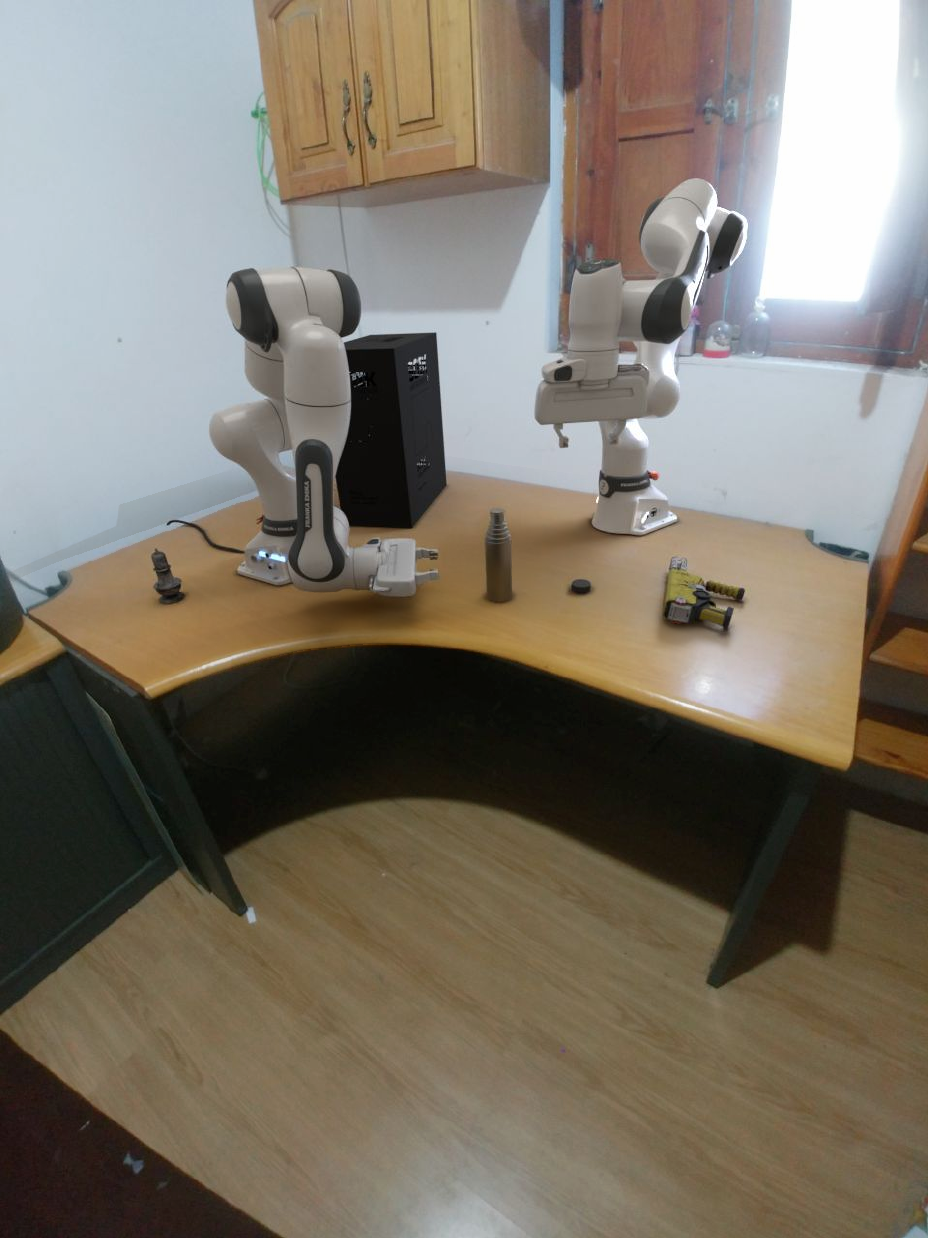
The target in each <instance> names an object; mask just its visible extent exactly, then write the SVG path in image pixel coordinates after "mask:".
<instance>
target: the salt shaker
mask: <svg viewBox="0 0 928 1238" xmlns="http://www.w3.org/2000/svg"><path fill="white" fill-rule="evenodd" d="M150 558H151V560H152V565H153V569H152V570H153V572H155V573H156V574H155V575H156V578H157V581H156V582H155V583H154V584H153V585H152V588H153V589H154V590H155V591H156V593H157V594H159V595H161V596H160V597H159V599H158V600H159V602H160V603H161V604H172V603H176V602H178V601H181V600H182V599H184V598H185V593H184V592H182V591H181V589H182V582H183V581H182V579H181V578H180V577H175V576H174V575H173V572H172V569H171V568H172V565H171V564H169V561H168V558H167V556H166V553H165V552H163V551H160V550H159V549H158V548H157V547H155V548H154V552H153V553H152V554H151V555H150Z"/></svg>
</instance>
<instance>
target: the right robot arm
mask: <svg viewBox="0 0 928 1238" xmlns="http://www.w3.org/2000/svg"><path fill="white" fill-rule="evenodd" d="M717 205H718V198H717V194H716V191H715V189H714V187H713V186H712V184H711V183H709V181H707V180H705V179H703V178H698V177H697V178H696V177H694V178H689V179H686V180H685V181H682V182H681V183H679V184H678V185H677V186H676V187H675V188H673V189H672V190H671V191H670V192H668V194H667V195H665V196H664V197H659V198H657V199H656V200H654V201H652V203H650V204H649V206H648V207H647V208H646V211H645V212H644V214H643V217H642V219H641V222H640V225H639V233H638V242H639V245H640V248H641V252H642V253H641V254H642V255H643V258H644V259H645V261H646V263H647V264H648V265H649V266H650V267H651V268H652V269H653V270H655V271H656V272H658V274H657V276H656V277H655V279H636V280H635V279H633V280H629V279H628V280H626V278H624V277H623V271H622V264H621V262H620V261H619V260H618V259H614V258H601V259H595V260H590V261H586V262H584V263H582V264H580V265H579V266H578V267H576V268H575V270H574V272H573V277H572V282H571V287H570V295H569V304H568V305H569V307H568V326H569V330H570V331H569V332H570V336H569V337H570V338H569V342H568V346H567V355H566V356H563V357H561V358H558V359H556V360H553V361H551V362H549V363H546V364H544V365H543V366H542V367H541V377H542V378H543V380H541V381H540V383H538V386H537V388H536V393H535V401H534V411H533V412H534V413H533V414H534V419H535V421H536V422H537V423H538V424H539V425H541V426H547V425H548V426H549V425H553V429H554V432H555V433H556V435H557V438H558V447H559V449H566V448H569V442H570V441H569V440H570V438H569V437H568V436H567V435H566V436H564V435H563V434H562V431H561V430H563V429H564V424H576V423H577V424H579V423H593V422H594V423H595V422H598V425H599V429H600V434H601V435H600V436H601V441H602V442H601V443H602V444H601V445H602V447H601V468H600V470H599V474H598V492H599V493H598V495H597V498H596V507H595V511H594V514H593V517H592V520H591V525H592V526H593V527H594V528H595V529H597V530H599V531H601V532H605V533H611V534H623V535H625V534H626V535H632V536H633V535H634V536H645V535H646V534H650V533H652V532H654V531H657V530H660V529H662V528H665V527H668V526H670V525H672V524H675V523H677V522H678V516H677V515H676V514H675V513H674V512H672V511H670V503H669V502H670V501H669V498H668V497H667V496H666V495H665V494H664V493H663V492H661V491H660V490H659V489H658V488H656V487H655V486H654V485H652V483H651V480H653V481H658V479H659V478H660V473H659V472H657V471H654V470H651V471H649V470H648V469H647V466H648V458H649V457H648V456H649V446H650V442H649V437H648V435H647V434H646V433H645V432H644V431H643V430H642V428H641V426H640V424H639V421H638V419H643V420H651V419H663V418H665V417H668V416H669V415H670V414H672V413H673V411H674V410H675V409H676V407H677V405H678V404H679V401H680V398H681V384H680V380H679V378H678V377H677V375H676V371H675V356H676V351H677V349H678V345H679V343H680V340H681V338H682V336H683V334H684V333H685V332H686V331H687V330H688V328H689V325H690V323H691V319H692V316H693V315H692V314H693V311H694V308H695V306H696V304H697V301H698V297H699V294H700V291H701V288H702V284H703V280H704V275H705V273H706V272H707V275H706V279H707V280H708V279H712V278H713V277H714V276H715V274H719V273H722V272H724V271H725V270H726V269H727V270H728V268H729V267H731V266H732V265H733V264H734V262H735V260H736V259H737V258H738V257H739V255H740V254H741V253H742V251H743V249H744V246H745V244H746V240H747V231H748V221H747V218H746V217H745V216H744V215H742V214H740V213H739V212H736V211H734V210H731V211H729V210H727V209H725V208H722V207H719V206H717ZM620 341H621V342H632V343H633V344H634V346H635V347H636V350H637V351H636V356H635V360H634V362H633V364H622V363H619V359H620Z"/></svg>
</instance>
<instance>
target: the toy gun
mask: <svg viewBox="0 0 928 1238" xmlns="http://www.w3.org/2000/svg"><path fill="white" fill-rule="evenodd" d="M678 562H679V563H678ZM687 569H688V559H687V558H686V557H681V559H679V556H672V557H671V560H670V563H669V567H668V574H667V578H666V583H665V592H664V598H663V599H664V600H663V608H662V617H663V618H664V619H665V620H670V623H671V624H675V623H676V624H677V625H680V624H681V623H686V624H691V623H695V622H697V621H699V620H701V621H705V622H708V623H712V624H716V625H717V626H721V627H722V630H723V632H728V629H729V626H730V624H731V620H732V617H733V614H734V610H735V608H734V607H732V606H730V605H728V606H727V608H726V610H725V609H723V608H720V607H717V605H716V604H717V603H716V602H715V601H714V600H711V599H712V597H711V594H710V593H714V594H719V595H720V596H726V597H727V598H732V599H735V600H737V601H742V600H743V598H744V596H745V592H746V589H745V588H744V587H739V586H736V587H735V586H734V585H728V584H727V583H721V582H719V581H717V582H715V581H714V580H712V579H709V580H708V581H706V582H705V581H704V579H703V578H702V577H701V576H700V575H695V574H692V573H689V572H688V571H687Z"/></svg>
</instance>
